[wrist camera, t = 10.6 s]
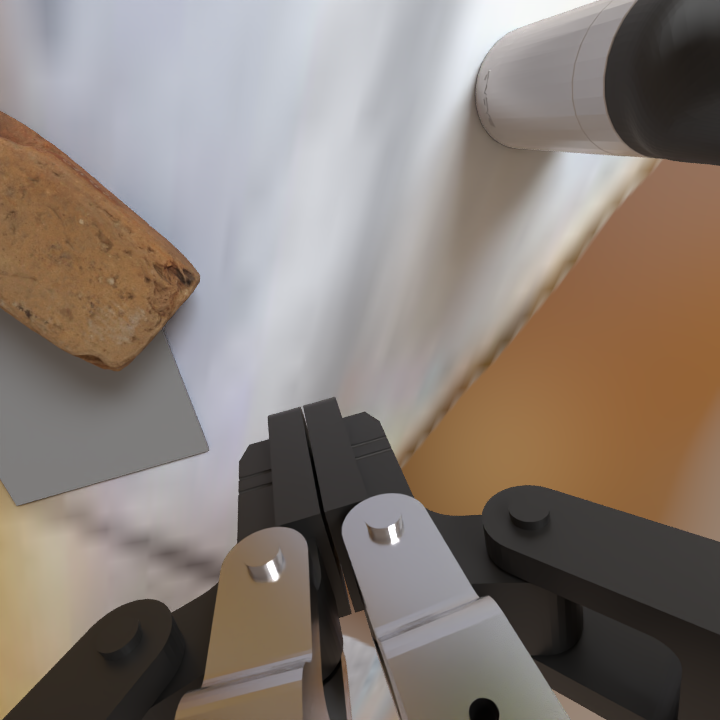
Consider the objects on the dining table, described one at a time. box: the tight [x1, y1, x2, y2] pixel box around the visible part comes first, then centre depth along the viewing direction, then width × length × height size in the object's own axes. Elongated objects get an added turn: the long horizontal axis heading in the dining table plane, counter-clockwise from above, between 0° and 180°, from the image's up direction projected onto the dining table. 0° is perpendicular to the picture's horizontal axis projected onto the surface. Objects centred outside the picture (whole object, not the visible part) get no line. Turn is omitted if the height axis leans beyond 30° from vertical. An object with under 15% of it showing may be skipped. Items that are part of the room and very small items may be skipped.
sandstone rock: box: [0, 111, 200, 371], centre depth 38 cm, size 11×8×20 cm
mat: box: [0, 308, 209, 506], centre depth 46 cm, size 18×22×1 cm
